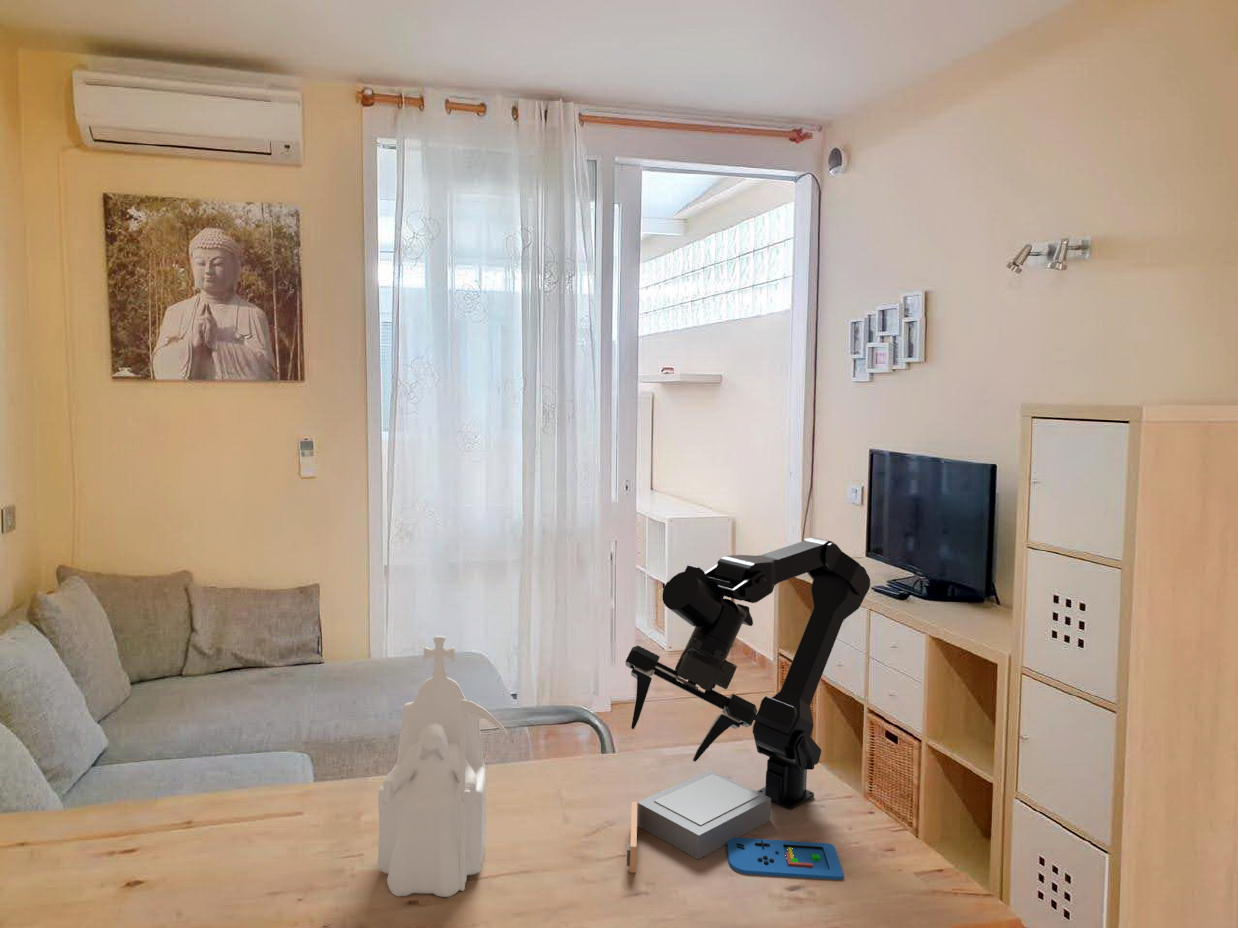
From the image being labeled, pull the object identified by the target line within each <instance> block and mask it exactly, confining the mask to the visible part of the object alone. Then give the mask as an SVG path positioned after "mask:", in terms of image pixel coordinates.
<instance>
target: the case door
mask: <svg viewBox="0 0 1238 928" xmlns="http://www.w3.org/2000/svg"><path fill="white" fill-rule="evenodd" d="M637 802H638V801H631V815H630V816H631V817H630V818H631V819H630V820H631V821H630V822H631V823H630V843H627V844H626V845H627V846H626V847H627V848H626V867H629V873H636V872H637V843H638V842H637V840H638V839H637V838H638V837H637V834H638V826H637Z"/></svg>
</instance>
